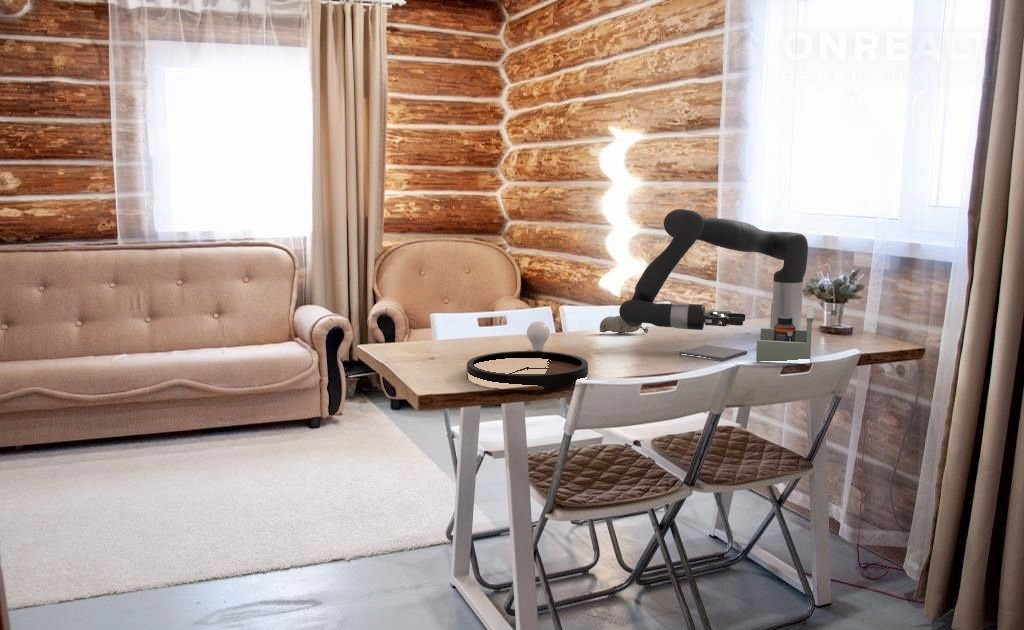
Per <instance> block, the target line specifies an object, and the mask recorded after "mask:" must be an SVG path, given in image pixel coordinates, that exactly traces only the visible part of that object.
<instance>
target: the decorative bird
mask: <svg viewBox="0 0 1024 630" xmlns="http://www.w3.org/2000/svg"><path fill="white" fill-rule="evenodd" d="M642 325H643V323H642V324H641V325H639V326H637V327H631V326H628V325H627V324H626V323H625V322H624V321H623V319H622V318H621V316H620V315H616V316H606V317H604V318H603V319H602V321H601V322H600V325H599V333H600V332H605V333H607V332H612V333H613V332H618V333H625V332H632V333H634V332H637V331H638V330H639V329H642V330H643V333H644V334H645V333H646V334H647V333H648V331H649V328H650V327H649V326H646V327H645V328H644V327H643V326H642Z"/></svg>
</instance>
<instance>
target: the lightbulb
mask: <svg viewBox="0 0 1024 630" xmlns="http://www.w3.org/2000/svg"><path fill="white" fill-rule="evenodd" d="M526 335H527V336H526V337H527V338H528V340H529V342H530V343H531V347H532V349H533V350H532V351H544V349H545V348H544V347H545V344H546V342H547V341H548V339H549V337H550V329H549V326H548V325H547V324H546V323H545V322H542V321H533V322H532V323H530V325H528V327H527V329H526Z"/></svg>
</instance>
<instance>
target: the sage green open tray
mask: <svg viewBox="0 0 1024 630" xmlns="http://www.w3.org/2000/svg"><path fill="white" fill-rule="evenodd" d="M813 308H814V307H813V306H806V329H801V330H795V331H796V332H795V342H785V341H773V338H774V329H773V328H770V327H761V328H760V339H758V340H756V350H755V351H756V353H755V354H756V355H755V357H756V358H755V361H787V360H798V359H810V360H811V355H812V354H811V353H812V351H811V350H812V332H813V331H812V330H813V322H814V309H813ZM805 366H811V363H810V364H806V365H805Z"/></svg>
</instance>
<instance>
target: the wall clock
mask: <svg viewBox="0 0 1024 630" xmlns="http://www.w3.org/2000/svg"><path fill="white" fill-rule="evenodd" d="M505 358H542V359H549V360H548V361H547V362H549V363H547V364H549V365H547V366H548V367H549V368H546V367H545V368H529V367H526V368H523V369H520V370H517V371H515V372H518V371H522V370H525V369H527V370H528V369H547V371H546V373H545V374H512V373H515V372H512V373H509V374H505V373H496V372H490V371H485V370H482V369H479V368H477V367H475V366H474V364H476V363H479V362H484V361H489V360H496V359H505ZM550 360H551V361H550ZM467 372H468V373H469V374H470V375H472V376H474V377H477V378H480V379H483V380H487V381H492V382H499V383H509V384H522V385H538V386H543V387H544V389H543V390H542V391H553V390H560V389H567V388H571V387H575V386H574V385H575V382H576V380H577V379H580V378H585V377H587V375H588V376H589V362H588V361H587V360H586V359H585V358H583V357H580V356H577V355H575V354H570V353H564V352H556V351H545V350H543V351H533V350H516V351H515V350H514V351H513V350H512V351H502V352H501V351H500V352H499V351H498V352H493V353H485V354H482V355H477V356H475V357H472V358H471V359H469V360H468V361H467V362H466V373H467ZM573 383H574V384H573ZM572 385H573V386H572ZM545 387H546V388H545Z"/></svg>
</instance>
